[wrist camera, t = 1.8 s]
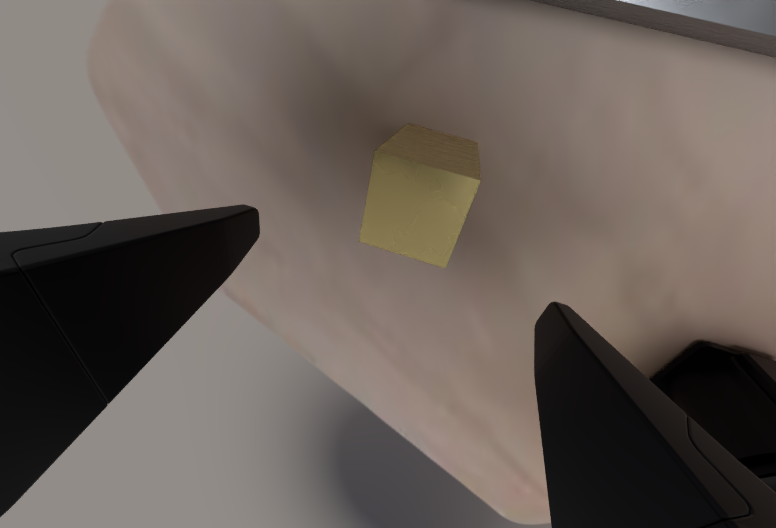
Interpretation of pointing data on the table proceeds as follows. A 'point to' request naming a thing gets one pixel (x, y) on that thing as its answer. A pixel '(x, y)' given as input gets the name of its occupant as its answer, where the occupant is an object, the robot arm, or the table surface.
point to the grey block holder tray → (693, 19)
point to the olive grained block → (420, 193)
